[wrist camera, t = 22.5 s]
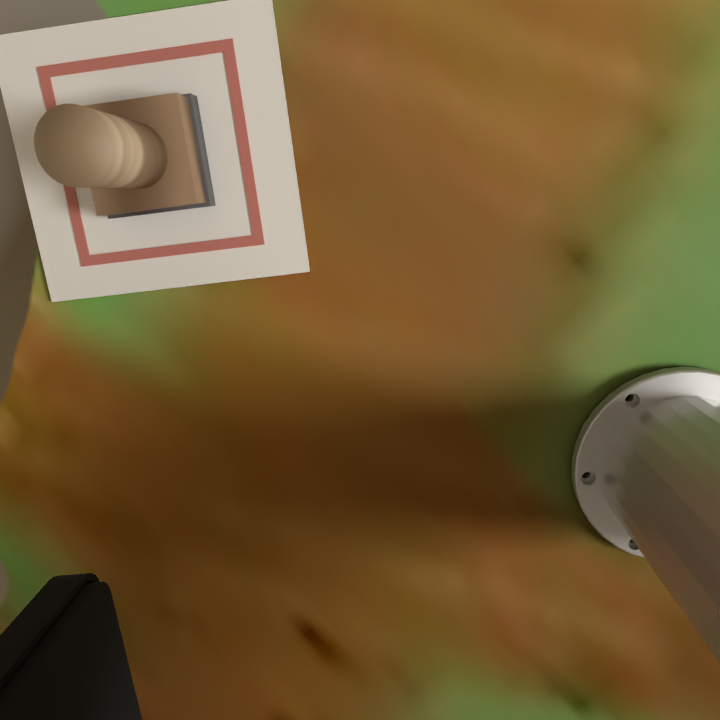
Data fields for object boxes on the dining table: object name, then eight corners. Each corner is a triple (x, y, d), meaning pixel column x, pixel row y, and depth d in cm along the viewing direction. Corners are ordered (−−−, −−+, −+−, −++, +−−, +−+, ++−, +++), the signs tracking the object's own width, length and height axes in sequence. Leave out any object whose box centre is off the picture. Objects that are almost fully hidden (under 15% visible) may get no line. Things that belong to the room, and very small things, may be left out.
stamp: (196, 96, 36) (126, 60, 27) (215, 205, 38) (155, 209, 28) (94, 110, 37) (-12, 80, 27) (116, 218, 38) (23, 226, 28)
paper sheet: (271, -5, 35) (270, -7, 35) (310, 271, 39) (309, 272, 38) (-9, 37, 36) (-13, 36, 36) (54, 301, 40) (50, 302, 39)
